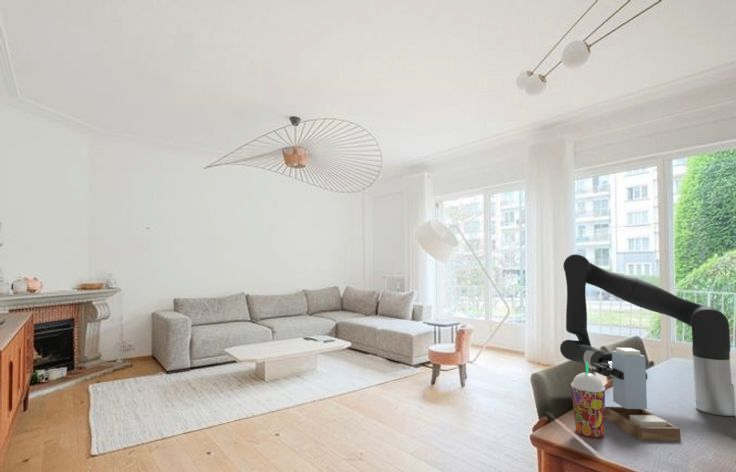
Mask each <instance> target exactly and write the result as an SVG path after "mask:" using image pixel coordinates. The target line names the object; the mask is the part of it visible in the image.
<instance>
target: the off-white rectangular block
mask: <svg viewBox="0 0 736 472" xmlns="http://www.w3.org/2000/svg"><path fill="white" fill-rule="evenodd" d="M657 416H658V415H656V416H655V414H654V415H630V421H631V422H632V423H634V424H636V425H637V426H639V427H667V422H668V421H667V422H666V420H665V419H663V418H661V417H659V416H658V417H657Z"/></svg>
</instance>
